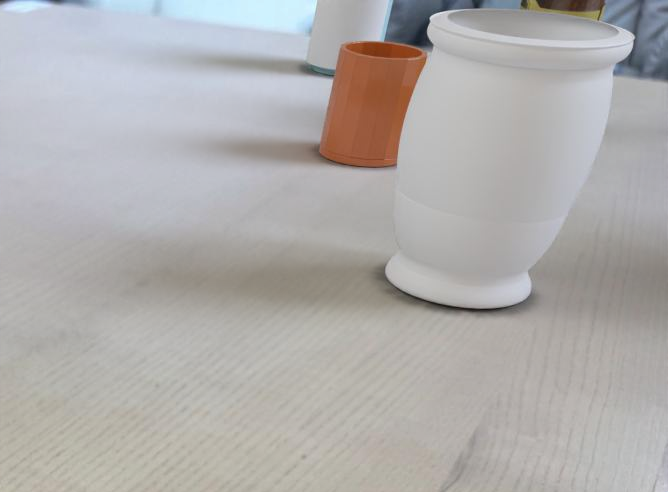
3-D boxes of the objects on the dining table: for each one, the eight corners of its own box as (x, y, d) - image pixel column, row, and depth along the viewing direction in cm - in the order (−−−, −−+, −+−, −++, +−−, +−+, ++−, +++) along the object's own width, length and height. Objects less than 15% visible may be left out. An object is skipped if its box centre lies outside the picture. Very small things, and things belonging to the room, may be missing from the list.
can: (293, 70, 121) (318, -63, 114) (320, 58, 126) (346, -70, 119) (361, 82, 118) (391, -55, 111) (386, 69, 122) (417, -63, 115)
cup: (414, 155, 97) (441, 50, 93) (379, 172, 93) (405, 63, 89) (340, 139, 101) (363, 37, 96) (304, 154, 97) (325, 48, 92)
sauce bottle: (509, 119, 107) (584, -138, 96) (577, 135, 103) (664, -131, 92) (470, 130, 104) (544, -134, 92) (540, 147, 100) (625, -127, 88)
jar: (433, 326, 69) (513, 47, 60) (333, 262, 77) (391, 8, 68) (586, 309, 71) (683, 40, 63) (474, 249, 79) (546, 3, 71)
